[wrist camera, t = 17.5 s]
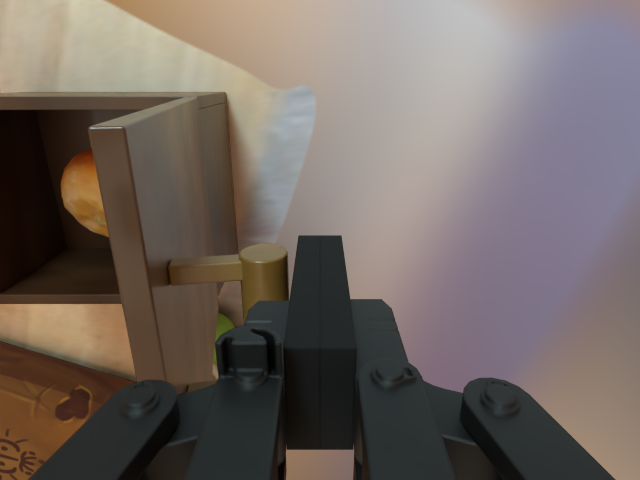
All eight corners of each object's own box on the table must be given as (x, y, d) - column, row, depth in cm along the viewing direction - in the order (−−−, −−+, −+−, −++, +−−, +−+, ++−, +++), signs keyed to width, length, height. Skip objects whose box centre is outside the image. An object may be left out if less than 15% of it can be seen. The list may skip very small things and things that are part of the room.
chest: (65, 252, 40) (-9, 304, 31) (27, 92, 35) (-77, 96, 26) (238, 252, 40) (214, 303, 31) (226, 92, 35) (193, 96, 26)
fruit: (196, 142, 34) (150, 211, 29) (186, 201, 40) (147, 267, 35) (98, 100, 33) (33, 164, 28) (103, 168, 39) (51, 231, 34)
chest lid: (171, 559, 14) (302, 536, 15) (86, 126, 9) (293, 123, 10) (207, 307, 30) (270, 302, 31) (184, 96, 25) (260, 96, 26)
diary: (155, 380, 45) (133, 421, 40) (120, 494, 52) (97, 542, 46) (-67, 314, 42) (-123, 348, 37) (-76, 443, 49) (-124, 489, 43)
